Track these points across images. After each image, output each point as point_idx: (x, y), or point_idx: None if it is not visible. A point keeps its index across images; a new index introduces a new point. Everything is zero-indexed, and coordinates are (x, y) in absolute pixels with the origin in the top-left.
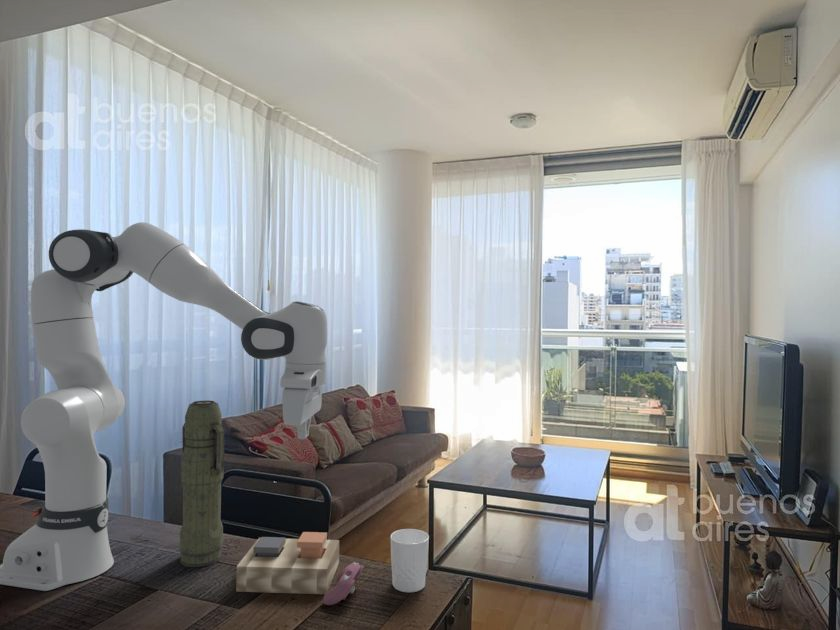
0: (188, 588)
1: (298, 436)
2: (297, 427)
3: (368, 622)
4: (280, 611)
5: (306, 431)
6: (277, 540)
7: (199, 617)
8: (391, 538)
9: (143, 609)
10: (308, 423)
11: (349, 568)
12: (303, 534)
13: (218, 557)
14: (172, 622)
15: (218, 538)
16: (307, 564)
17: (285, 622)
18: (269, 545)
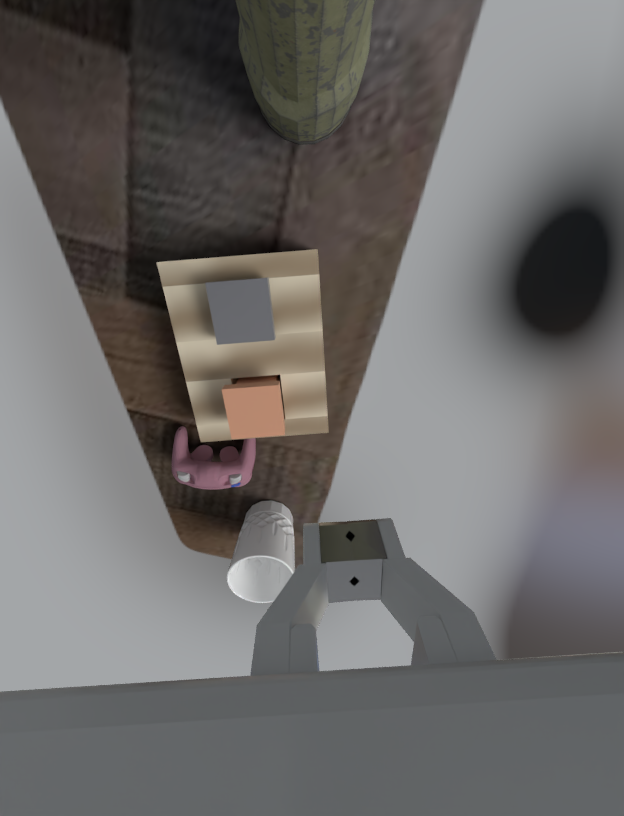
0: (157, 139)
1: (304, 536)
2: (277, 599)
3: (158, 488)
4: (142, 369)
5: (329, 598)
6: (254, 327)
7: (71, 233)
8: (244, 558)
9: (43, 75)
10: (413, 636)
11: (199, 480)
12: (263, 390)
13: (299, 140)
14: (34, 184)
15: (292, 122)
16: (208, 405)
17: (117, 387)
18: (222, 319)
